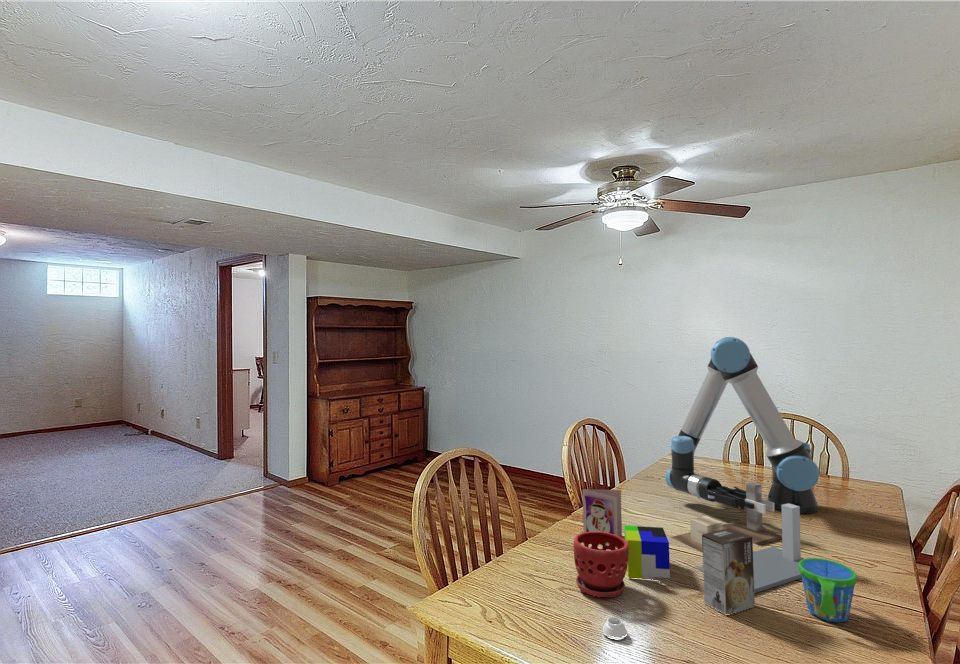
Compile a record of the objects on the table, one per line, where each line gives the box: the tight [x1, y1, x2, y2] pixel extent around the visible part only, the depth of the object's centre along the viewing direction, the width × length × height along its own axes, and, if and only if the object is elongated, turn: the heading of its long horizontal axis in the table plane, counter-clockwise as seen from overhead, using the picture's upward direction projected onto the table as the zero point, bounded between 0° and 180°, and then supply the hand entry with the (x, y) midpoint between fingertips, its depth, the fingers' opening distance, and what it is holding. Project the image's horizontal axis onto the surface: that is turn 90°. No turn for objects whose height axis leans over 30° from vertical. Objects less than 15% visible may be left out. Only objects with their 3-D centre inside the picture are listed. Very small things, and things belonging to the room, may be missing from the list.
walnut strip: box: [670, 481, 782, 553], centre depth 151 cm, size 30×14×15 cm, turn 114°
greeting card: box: [582, 488, 623, 537], centre depth 152 cm, size 11×7×15 cm, turn 47°
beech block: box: [689, 515, 723, 544], centre depth 148 cm, size 6×6×6 cm
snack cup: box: [799, 557, 858, 623], centre depth 110 cm, size 16×10×10 cm
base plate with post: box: [695, 503, 805, 594], centre depth 131 cm, size 30×14×15 cm, turn 114°
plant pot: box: [573, 532, 629, 598], centre depth 124 cm, size 13×13×12 cm
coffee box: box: [702, 528, 756, 614], centre depth 115 cm, size 9×6×16 cm
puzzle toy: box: [624, 525, 671, 580], centre depth 132 cm, size 10×10×10 cm
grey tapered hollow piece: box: [602, 616, 628, 637], centre depth 105 cm, size 5×3×5 cm
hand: (769, 508), depth 151 cm, fingers closed on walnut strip, 3 cm apart
